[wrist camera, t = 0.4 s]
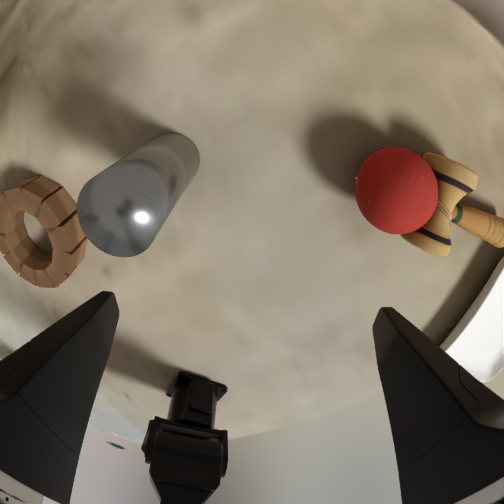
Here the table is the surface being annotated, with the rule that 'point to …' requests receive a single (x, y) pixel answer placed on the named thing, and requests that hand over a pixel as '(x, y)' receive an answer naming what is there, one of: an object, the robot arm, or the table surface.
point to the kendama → (422, 199)
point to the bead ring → (55, 223)
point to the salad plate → (481, 331)
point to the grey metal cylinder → (137, 195)
